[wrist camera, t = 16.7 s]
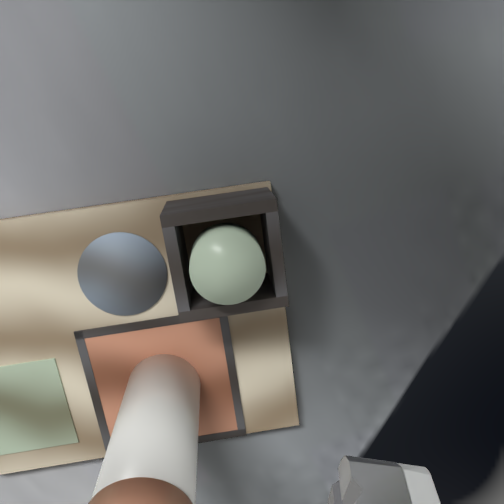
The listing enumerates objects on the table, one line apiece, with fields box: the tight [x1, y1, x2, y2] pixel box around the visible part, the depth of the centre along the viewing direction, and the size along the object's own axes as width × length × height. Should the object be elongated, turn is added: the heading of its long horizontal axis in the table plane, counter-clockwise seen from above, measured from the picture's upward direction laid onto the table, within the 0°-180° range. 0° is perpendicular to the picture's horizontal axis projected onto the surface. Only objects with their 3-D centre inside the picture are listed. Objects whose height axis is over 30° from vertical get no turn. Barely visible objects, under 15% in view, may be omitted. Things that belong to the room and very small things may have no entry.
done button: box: [189, 223, 266, 305], centre depth 23 cm, size 4×4×2 cm
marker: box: [88, 354, 200, 504], centre depth 22 cm, size 5×5×13 cm
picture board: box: [0, 181, 299, 475], centre depth 26 cm, size 16×20×5 cm
